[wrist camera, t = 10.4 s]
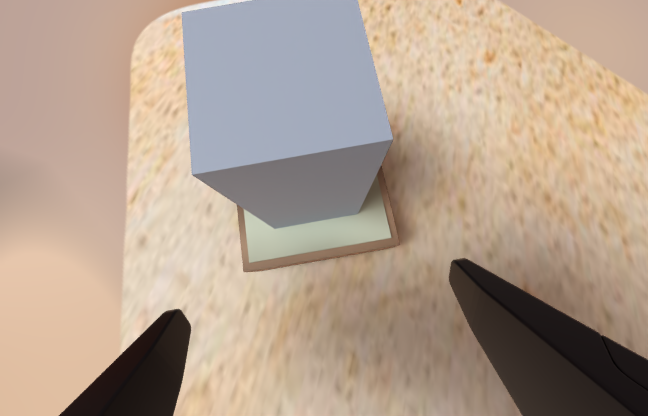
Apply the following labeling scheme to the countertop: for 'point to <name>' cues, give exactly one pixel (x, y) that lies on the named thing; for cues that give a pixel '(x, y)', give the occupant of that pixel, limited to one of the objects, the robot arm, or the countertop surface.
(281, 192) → the slate brick
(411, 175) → the countertop surface
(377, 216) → the walnut base block
